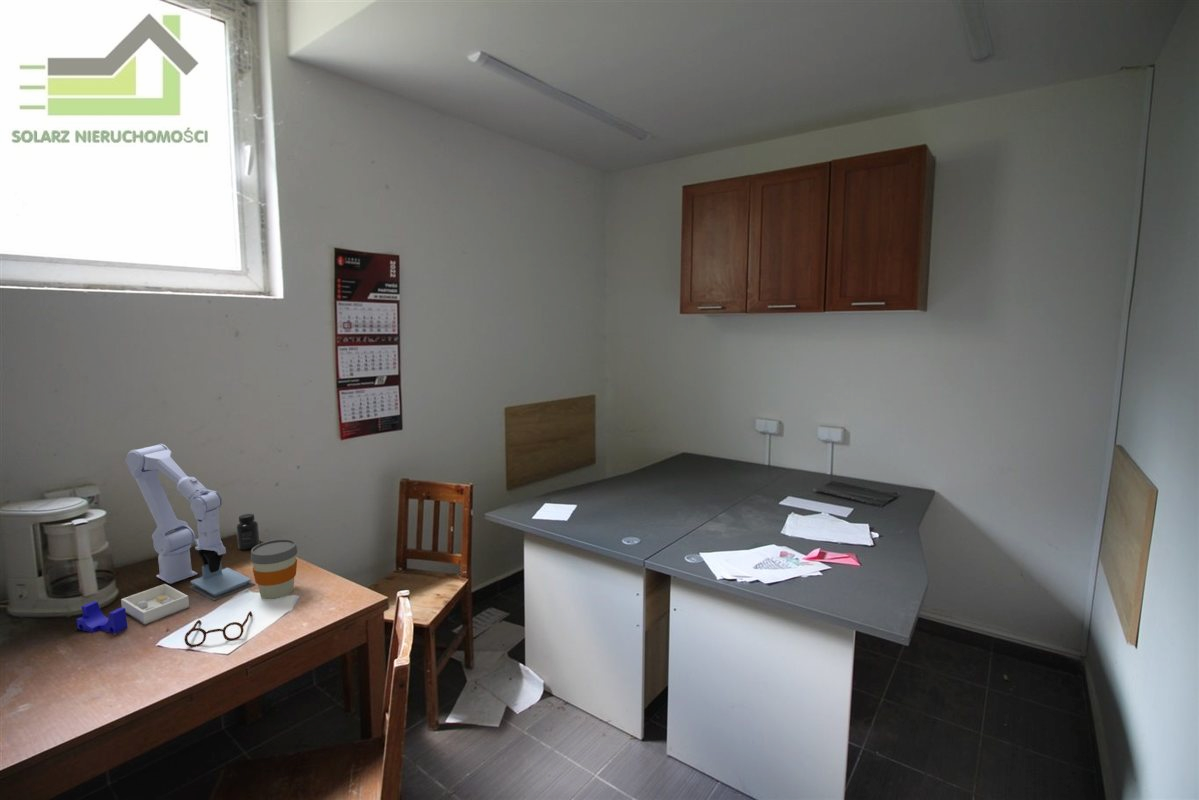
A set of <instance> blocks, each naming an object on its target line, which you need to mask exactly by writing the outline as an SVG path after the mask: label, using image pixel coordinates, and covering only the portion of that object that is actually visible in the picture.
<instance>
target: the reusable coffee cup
mask: <svg viewBox="0 0 1199 800" xmlns="http://www.w3.org/2000/svg"><path fill="white" fill-rule="evenodd" d="M250 550H251V551H250V562H251V563H252V567H251V568H252V574H253V576H254V577H253V578H254V580H255V582H254V583H255V584H257V586H258V591H259V595H260V597H261V598H262V599H263V600H277V598H278V599H282V598H285V597H286V596H287V597H288V595H290V594H291V593H292V592H293V591H294V584H295V576H297V566H298V559H297V554H298V547H297V542H296V541H295V540H293V539H288V538H284V539H283V538H282V539H281V538H279V539H273V540H268V541H263V542H262V543H260V544H258V545H256V546H255V547H253V548H252V549H250Z"/></svg>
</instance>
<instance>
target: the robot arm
mask: <svg viewBox="0 0 1199 800" xmlns="http://www.w3.org/2000/svg"><path fill="white" fill-rule="evenodd" d="M125 463H126V466H127V468H128V469H129V472H130V475H131V476H132V478H134V480H135V481H136V484H137V485H138V487H139V491H140V492H141V495H142V496H143V498H144V500H145V502H146V505H147V507H148V510H149V511H150V513H151V515H152V517H153V520H154V522H155V524H156V529H155V530H154V531H153V532H152V535H151V538H152V541H153V549H154V550H155V552H156V553H157V554H158V557H157V559H158V568H159V573H158V574H156V578H158V579H161V580H162V581H164V582H166V584H167V583H168V584H170V585H171V584H174V583H178V582H180V581H183V580H186V579H188V578H190V577H194V576H197V575H198V572H196V571H194V570H192V562H191V561H192V560H191V552H190V549H191V548H192V547H193V546H192V544H193V543H195V547H194V549H195V551H196V553H197V555H198V556H199V557H200V559H201V561H202V563H203V566H204V565H207V564H208V565H209V569H210V572H211V573H213V572H216V571H218V570H219V567H220V562H221V563H222V559H223V556H224V555H225V554H226V553H227V548H226V547H225V546H224V544H223V542H222V540H221V527H220V515H219V508H220V507H221V506H222V505H223V498H222V496H221V495H220V493H219V492H218V491H216V490H211V489H208V488H206V487H205V486H204V485H203V483H201V482H200V481H199V480H198V479H197V478H196V477H194V476H188V475H187V474H186V473H185V471H184V470H183V469H182V468H181V467H180V466H179V465H178V464H177V462H175V461H174V459H173V453H172V451H171V450H170V448H168V446H167V445H165V444H164V443H158V444H156V445H151V446H147V447H142V448H138V449H131V450H130V451H129V452H128V453H127V455H126V458H125ZM160 472H161V473H162V474H164V475H165V476H166V477H168V478H169V479H170V480H171V481H173V482H174V483H175V484H176V490H177V492H178V493H180V494H181V495H182V496H183V497H184V498H185V499H186V500H187V501H188V502H189V503H190V505H189V506H190V509H191V511H192V513H193V516H194V518H195V520H196V524H197V525H196V526H197V537H198V538H196V534H195V532H194V530H193V529H192V528H191V527H190V526H189V524H188V522H187V521H184V520H181V519H178V518H177V515H176V514H175V512H174V509H173V508H172V505H171V503H170V501H169V499H168V496H167V494H166V491H164V488H163V486H162V483H161V481H160V479H159V477H158V474H159V473H160Z"/></svg>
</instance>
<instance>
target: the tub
mask: <svg viewBox="0 0 1199 800" xmlns="http://www.w3.org/2000/svg"><path fill="white" fill-rule="evenodd" d="M189 600H190V599H189V595H187V594H185V593H183V592H182V591H180V590H178V589H176V588H174V587H172V586H170V585H168V584H167V583H163V584H161V585H157V586H155V587H151V588H149V589H146V590H143V591H140V592H137V593H135V594H131V595H129V596H127V597H123V598H121V599H120V602H121V603H120V604H121V607H122V608H125V611H126V615H127V614H128V615H129V616H130V617H132V618H134V619H135V620H137V621H138V622H140V623H142V624H143V625H147V624H149V623H153V622H155V621H157V620H159V619H161V618H164V617H167V616H170V615H172V614H175V613H177V612H180V611H182V610H185V609H188V608H190V601H189Z"/></svg>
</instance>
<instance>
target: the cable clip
mask: <svg viewBox="0 0 1199 800" xmlns="http://www.w3.org/2000/svg"><path fill="white" fill-rule="evenodd" d="M81 612H82V616H81V617H78V618H77V619H76V625H77V626H76V627H77V629H78V630H82V631H84V632H85V631H86V632H88V633H92V634H93V633H96V632H98V631H102V632H108V633H112V634H118V633H119V632H121V631H124V630H126V629H128V620H127V613H126V611H125V608H122V606H121V607H118V608H116V609H114V610H112V611H110V612H109V613H108V617H107V616H105V614H104V613H103V612H102V610H101V608H100V605H99V601H95V600H93V601H91V602H89V603H87V604H84V605H82V606H81Z"/></svg>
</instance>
